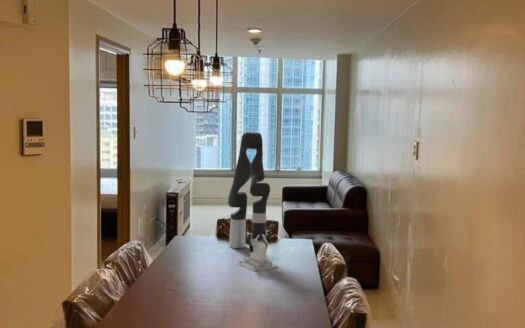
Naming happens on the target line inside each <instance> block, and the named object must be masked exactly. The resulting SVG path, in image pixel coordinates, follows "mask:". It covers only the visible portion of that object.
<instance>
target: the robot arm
mask: <svg viewBox="0 0 525 328" xmlns="http://www.w3.org/2000/svg"><path fill="white" fill-rule="evenodd" d="M262 136H263V135H262V134H261V133H260V132H252V131H250V132H249V131H246V132H243V133H242V135H241V139H240V140H241V141H240V147H239V152H238V153H239V154H238V159H237V162H236V166H235V171H234V177H233V182H232V184H231V188H230V190H229V195H228V197H227V198H228V200H227V202H228V206H229V207H230V208H238V209H237V210H236V211H234V212H232V213H230V225H229V227H230V229H229V241H228V242H229V247H230V248H233V249H243V248H246V245H248V252H249V253H250V252H251V253H253V244H254V243H255V242H256V241H258V240H260V241H262V242H264V243H265V244H266V251H267V250H268V243H270V242H271V241H272V240H271V239H272V238H271V237H272V235H271V232H272V231H270V230H266V229H267V203H268V199H269V197H270V193H271V186H270V184H269V183H267V182H262V181H264V180H265V170H264V163H263V160H264V159H263V156H264V154H263V150H264V149H263V145H264V144H263V137H262ZM247 150H255V151H256V153H255V156H254V157H253V158H252V160H251V161H250V159H249V157H248V154H247ZM250 178H251V179H250ZM249 180H250V186H249V193H250V195H251V196H252V197H254V198H255V197H256V198H257V197H261V198H260V199H258V200H254V201H253V202H252V214H251V232H250V233H249V232H247V233H246V226H247V223H246V222H247V210H248V209H247V208H248V195H247V192H246V191H240V190H241V188H242V187H243V186H244V185H245V184H246V183H248V182H249Z"/></svg>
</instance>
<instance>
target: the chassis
mask: <svg viewBox="0 0 525 328" xmlns="http://www.w3.org/2000/svg"><path fill="white" fill-rule="evenodd" d="M237 265H239V266H242V267H244V268H245V269H248V270H250V271H253V272H260V271H265V270H271V269H276V268H279V265H278V264H276V263H274V262H273V261H270V260H268V259H266V263H257V262H255V261H253V260H250V256H246V257H243V260H239V261H237Z"/></svg>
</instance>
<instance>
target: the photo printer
mask: <svg viewBox="0 0 525 328" xmlns="http://www.w3.org/2000/svg"><path fill="white" fill-rule="evenodd" d="M249 253H250V256H249V257H250V260H253V261H255V262H257V263H266V260H267V250H266V244H265V243H264V242H263V241H262V240H258V241H256V242H255V243H254V244H253V253H251V252H250V251H249Z"/></svg>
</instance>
